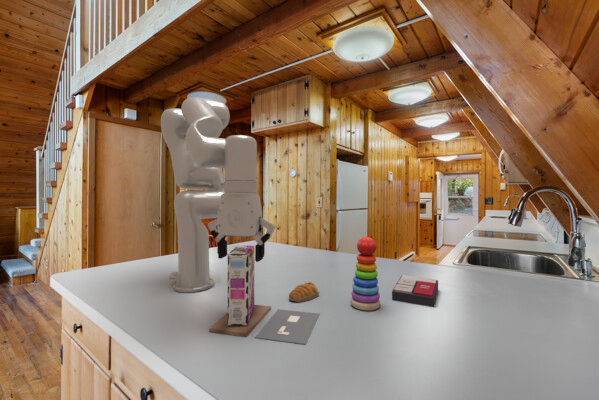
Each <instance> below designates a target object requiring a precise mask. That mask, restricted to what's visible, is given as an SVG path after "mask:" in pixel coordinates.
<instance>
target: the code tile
mask: <svg viewBox="0 0 599 400" xmlns="http://www.w3.org/2000/svg"><path fill="white" fill-rule="evenodd" d="M319 316H320V313H319V312H307V311H297V310H290V309H279V308H277V310H276V312H275V313H274V314H273V315H272V316H271V317H270V318H269V320H268V321H267V322H266V324H265V325H264V326H263V327H262V328H261V329H260V331H259V332H258V333H257V334H256V335H255V337H254V338H255V339H259V340H267V341H274V342H283V343H290V344H297V345H306V344H307V342H308V340H309V338H310V336H311V334H312V332H313V329H314V327H315V325H316V322H317V321H318V320H319V319H318V318H319Z"/></svg>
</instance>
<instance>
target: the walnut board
mask: <svg viewBox="0 0 599 400" xmlns="http://www.w3.org/2000/svg"><path fill="white" fill-rule="evenodd" d="M271 310H272V306H271V305H261V304H254V309H253V312H252V315H251V318H250V321H249V324H248V326H228V312H226V314H224V315H223V317H221V318H220V319H219V320H217V321H216V322H215V323H214V324H213V325H212V326H210V327H209V329H208V332H209V333H213V334H219V335H220V334H221V335H228V336H237V337H242V338H243V337H245V338H247V337H248V336H249V335H250V334H251V333H252V331H253V330H254V329H255V328H256V327H257V326H258V325H259V324H260V323H261V321H262V320H263V319H264V318H265V317H266V315H267V314H268V313H269V312H270V311H271Z"/></svg>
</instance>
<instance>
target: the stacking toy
mask: <svg viewBox="0 0 599 400" xmlns="http://www.w3.org/2000/svg"><path fill="white" fill-rule="evenodd" d="M356 248H357V252H359V254H357V256H356V260H357V262H356V263H355V267H356V269H355V270H354V277H353V279H352V280H353V281H352V282H353V284H352V287H351V289H352V291H351V298H350V301H349V302H350V304H351V306H353V308H355V309H358V310H361V311H375V310H377V309H379V308H380V306H381V300H380V296H381V295H380V293H379V291H380V289H379V287H380V286H379V285H378V284H379V279H378V278H377V277H378V271H377V269H378V265H377V263H376V262H377V261H376V260H377V257H376V256H375V255H374V253H375V252H376V250H377V243H376V241H375V240H374V239H373V238H372V237H370V236H365V237H361V238H360V239H359V240H358V241H357V244H356Z"/></svg>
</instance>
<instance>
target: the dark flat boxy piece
mask: <svg viewBox="0 0 599 400" xmlns="http://www.w3.org/2000/svg"><path fill="white" fill-rule="evenodd" d="M438 293H439V280H438V279H435V278H429V277H428V278H427V277H421V276H415V275H405V274H403V275H401V276H400V277H399V279H398V281H397V282H396V284H395V285H394V288H393V289H392V291H391V295H392V296H391V300H392V301H396V302H400V303H401V302H402V303H407V304H411V305H418V306H419V305H420V306H423V307H424V306H425V307H430V308H435V305H436V301H437V296H438Z"/></svg>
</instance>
